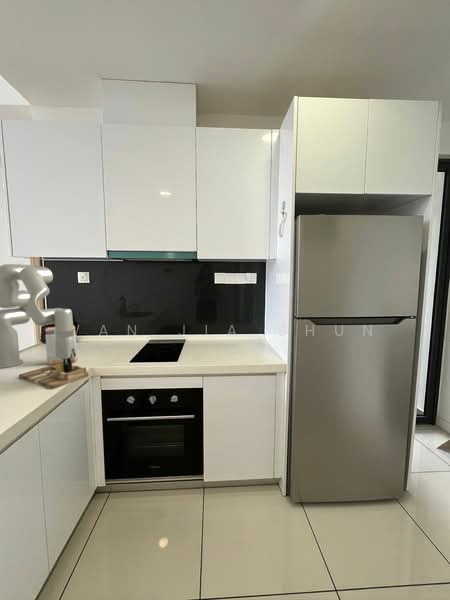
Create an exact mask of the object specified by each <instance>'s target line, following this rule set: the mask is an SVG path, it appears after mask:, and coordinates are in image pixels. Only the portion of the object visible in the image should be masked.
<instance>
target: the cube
mask: <svg viewBox="0 0 450 600" xmlns="http://www.w3.org/2000/svg"><path fill="white" fill-rule="evenodd" d="M55 368H56V371H60V372H64V366H63V363H62V364H55ZM64 373H65V372H64Z"/></svg>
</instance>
